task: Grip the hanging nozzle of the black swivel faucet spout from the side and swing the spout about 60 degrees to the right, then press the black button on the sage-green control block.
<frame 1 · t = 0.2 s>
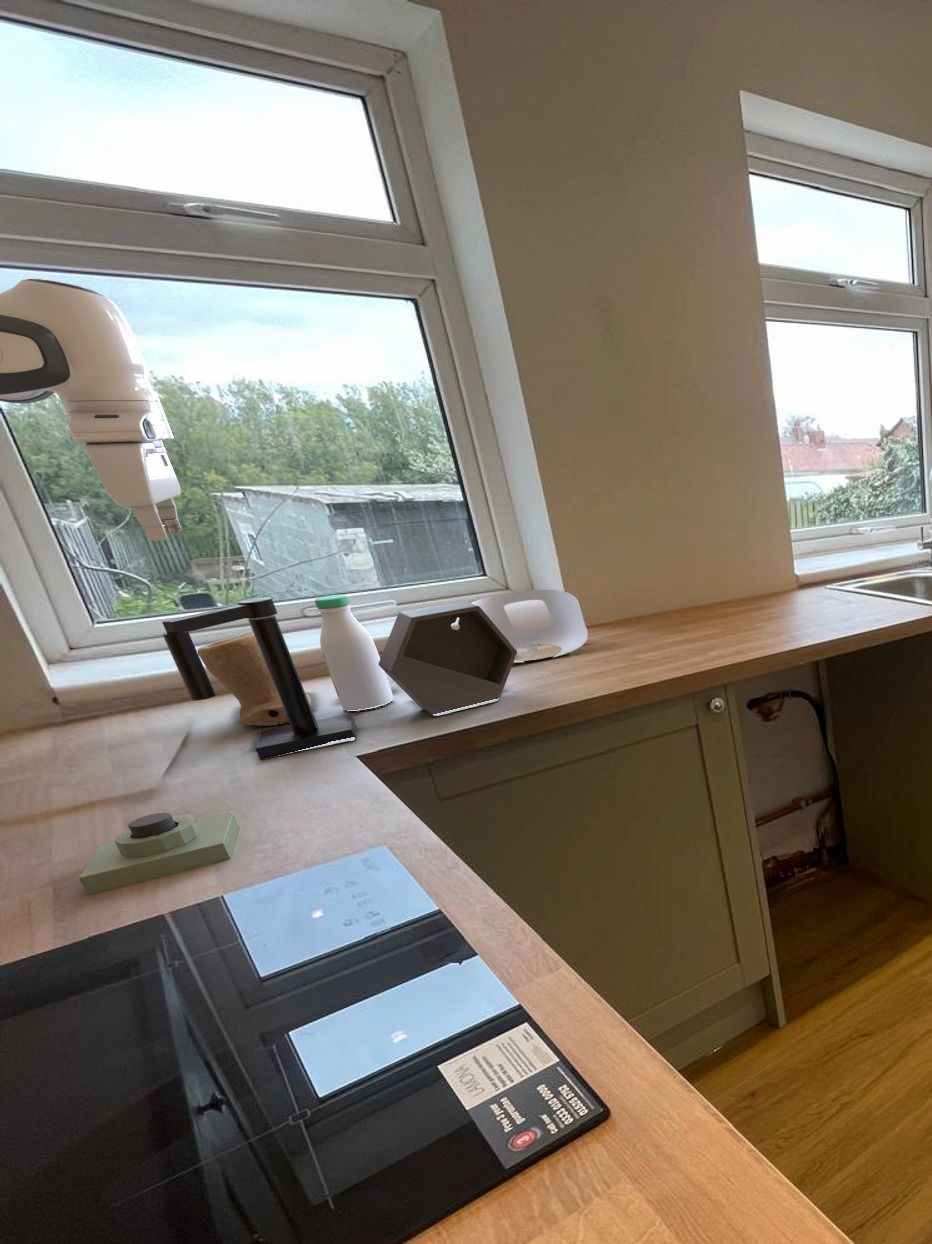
hand: (166, 536, 109), 34 cm above the worktop, tool pointing down, fingers open, 8 cm apart
control block: (169, 859, 96), on the worktop
button: (152, 826, 94), point 4 cm above the worktop, slide at 0.1 cm
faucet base: (310, 741, 132), on the worktop
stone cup: (273, 719, 144), on the worktop
milk bottle: (369, 706, 148), on the worktop
planter: (464, 705, 147), on the worktop
spout: (232, 646, 120), point 17 cm above the worktop, hinge at 0.0°
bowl: (534, 653, 179), on the worktop
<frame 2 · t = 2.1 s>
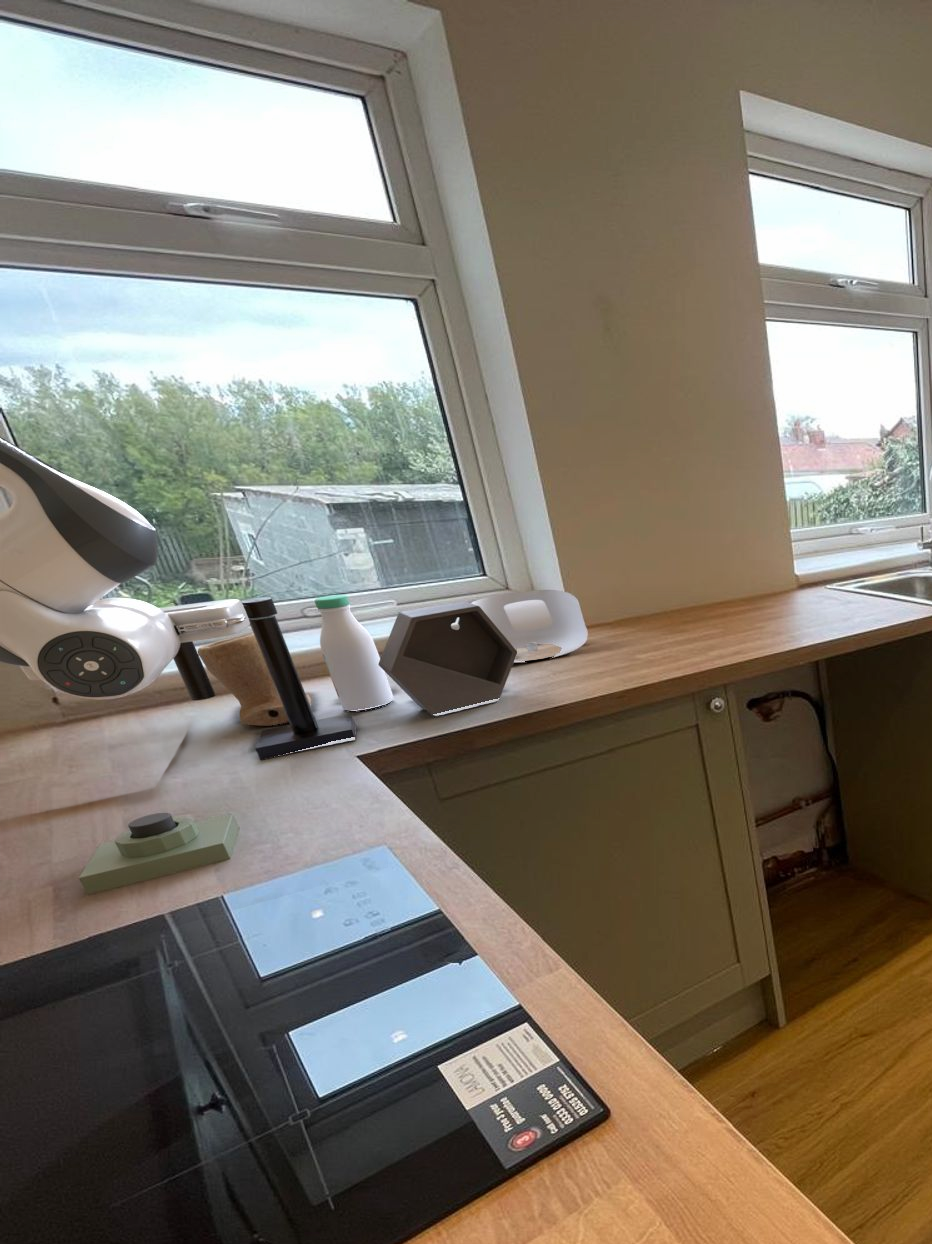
hand: (146, 619, 102), 25 cm above the worktop, tool horizontal, fingers open, 8 cm apart
nothing on the worktop moved.
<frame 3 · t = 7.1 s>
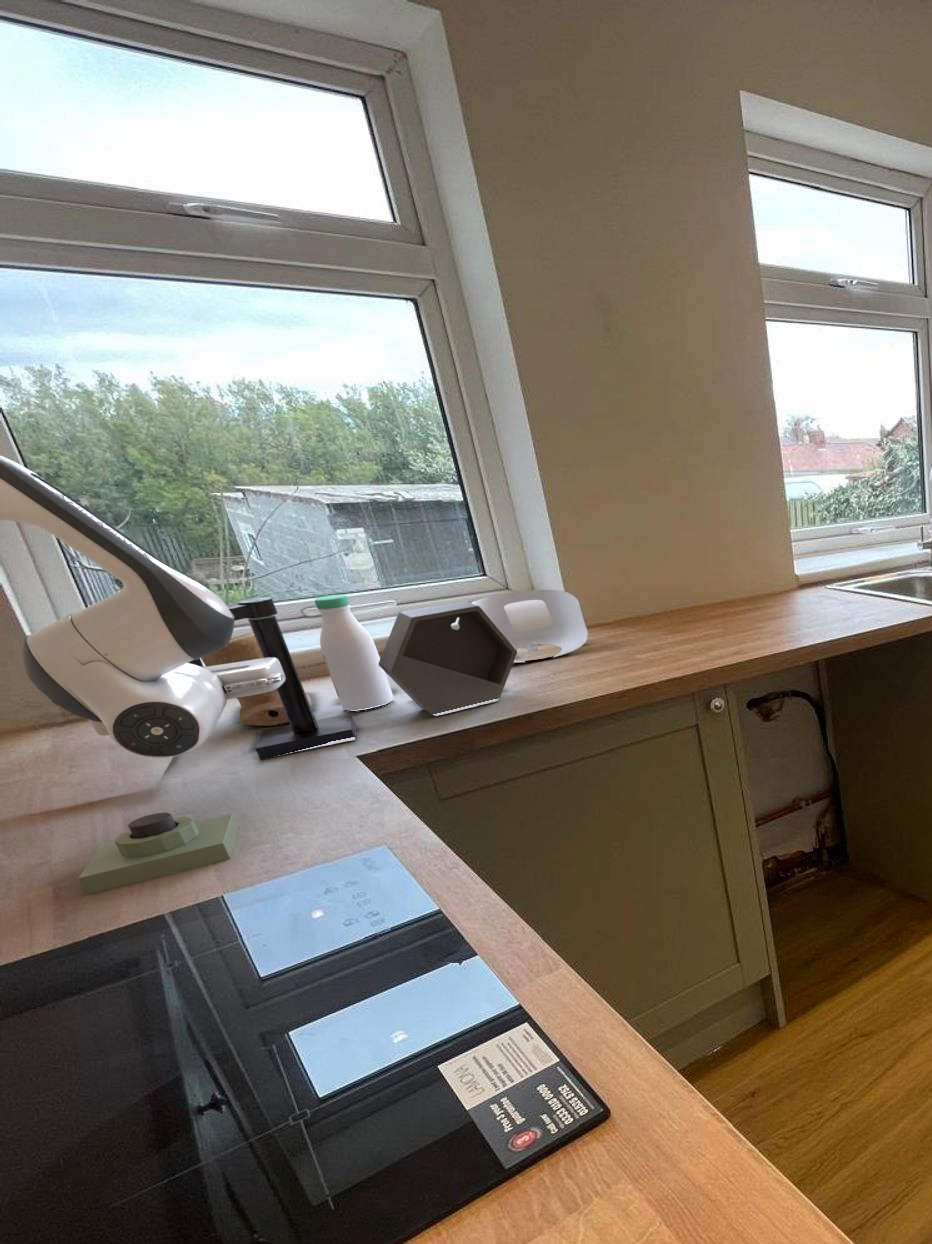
hand: (194, 674, 116), 15 cm above the worktop, tool horizontal, fingers closed on spout, 2 cm apart
spout: (232, 646, 120), point 17 cm above the worktop, hinge at 0.0°, touching gripper
everything else where it was.
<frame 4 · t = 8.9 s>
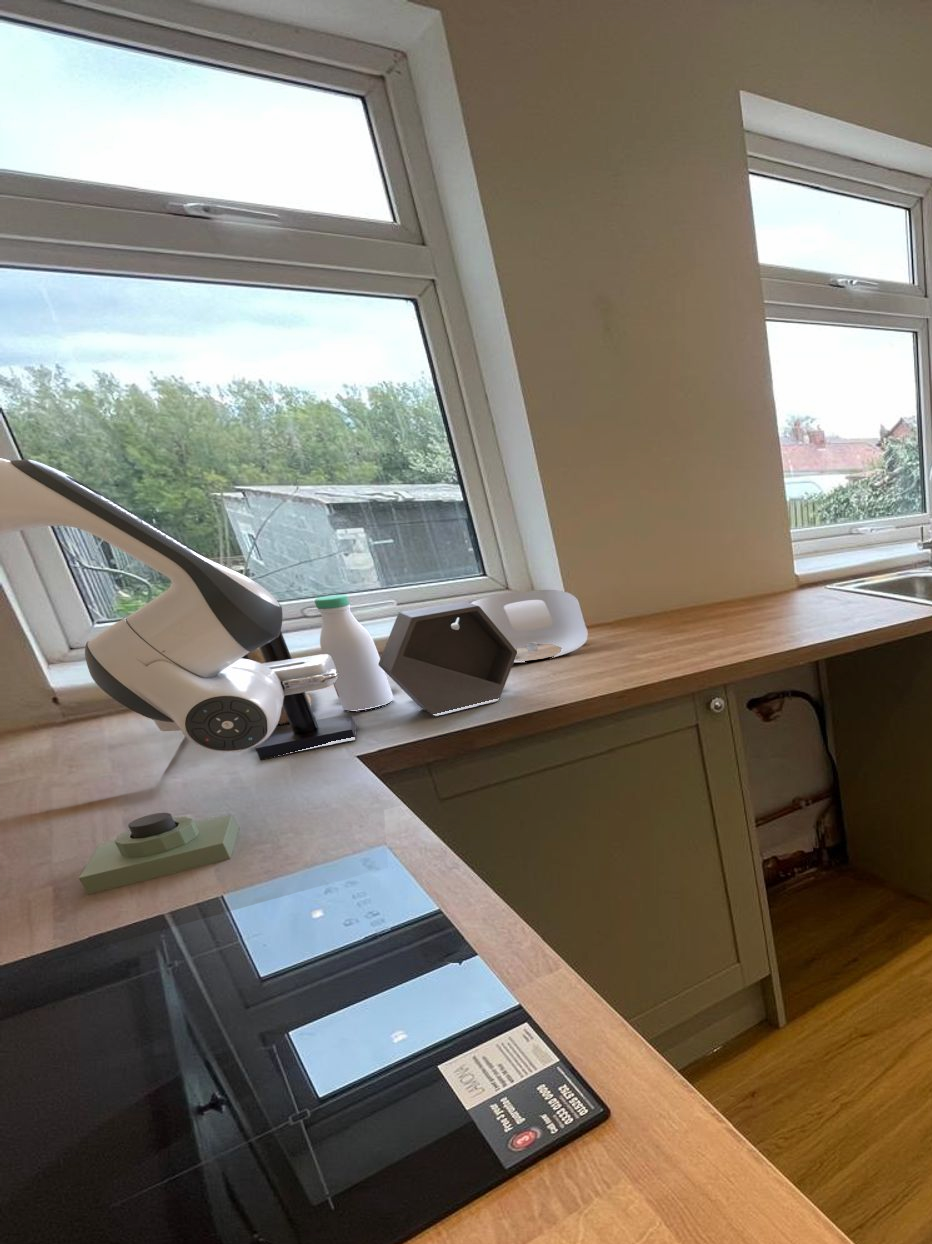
hand: (247, 671, 116), 15 cm above the worktop, tool horizontal, fingers open, 4 cm apart
spout: (254, 645, 120), point 17 cm above the worktop, hinge at 30.6°, touching gripper
everything else where it was.
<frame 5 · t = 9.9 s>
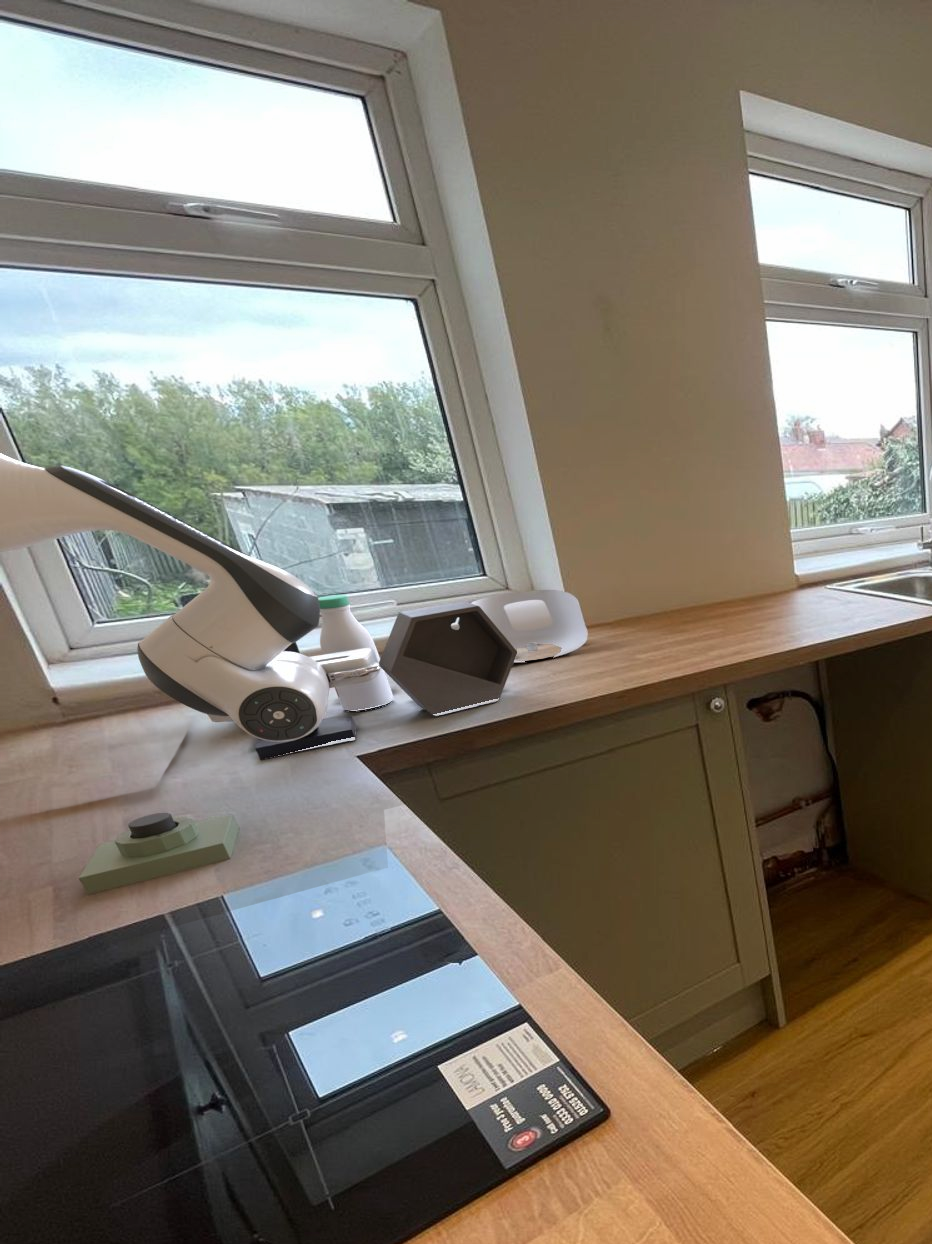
hand: (292, 665, 119), 15 cm above the worktop, tool horizontal, fingers closed on spout, 3 cm apart
spout: (277, 642, 122), point 17 cm above the worktop, hinge at 57.8°, touching gripper
everything else where it was.
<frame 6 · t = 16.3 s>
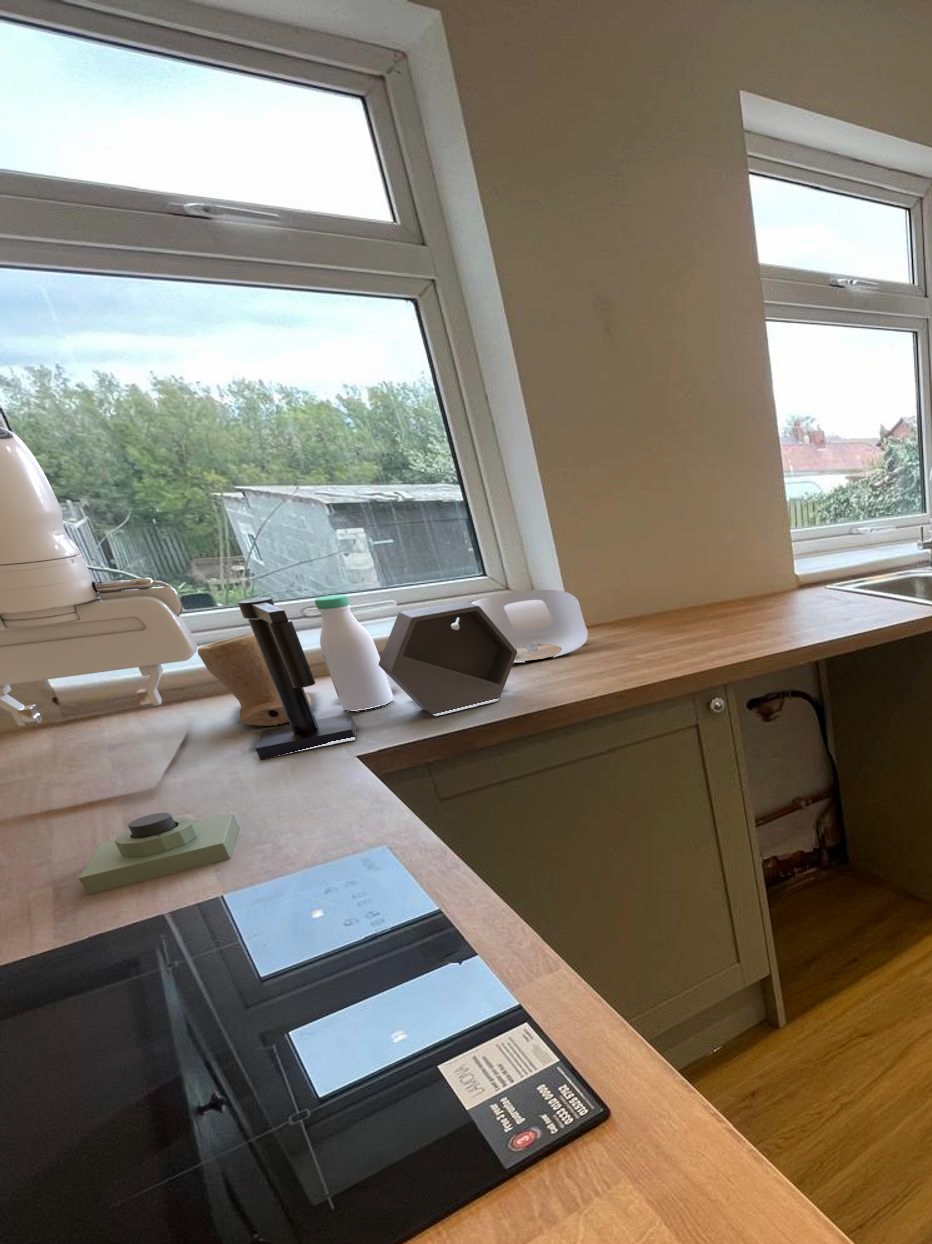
hand: (93, 714, 89), 18 cm above the worktop, tool pointing down, fingers open, 8 cm apart
spout: (278, 641, 122), point 17 cm above the worktop, hinge at 59.9°
everything else where it was.
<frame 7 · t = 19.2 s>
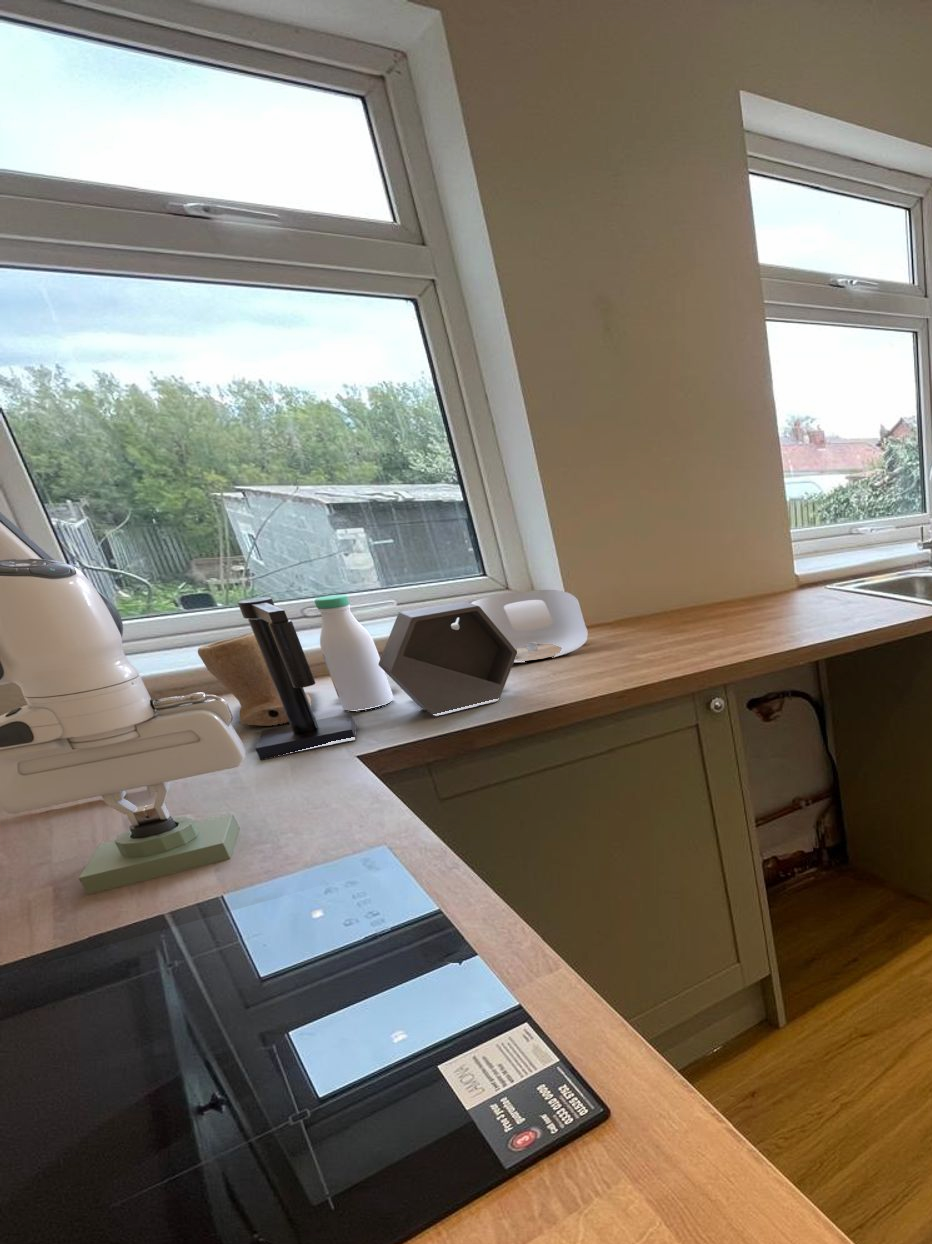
hand: (152, 821, 94), 5 cm above the worktop, tool pointing down, fingers closed, pressing on button
button: (153, 828, 94), point 4 cm above the worktop, slide at -0.2 cm, touching gripper
everything else where it was.
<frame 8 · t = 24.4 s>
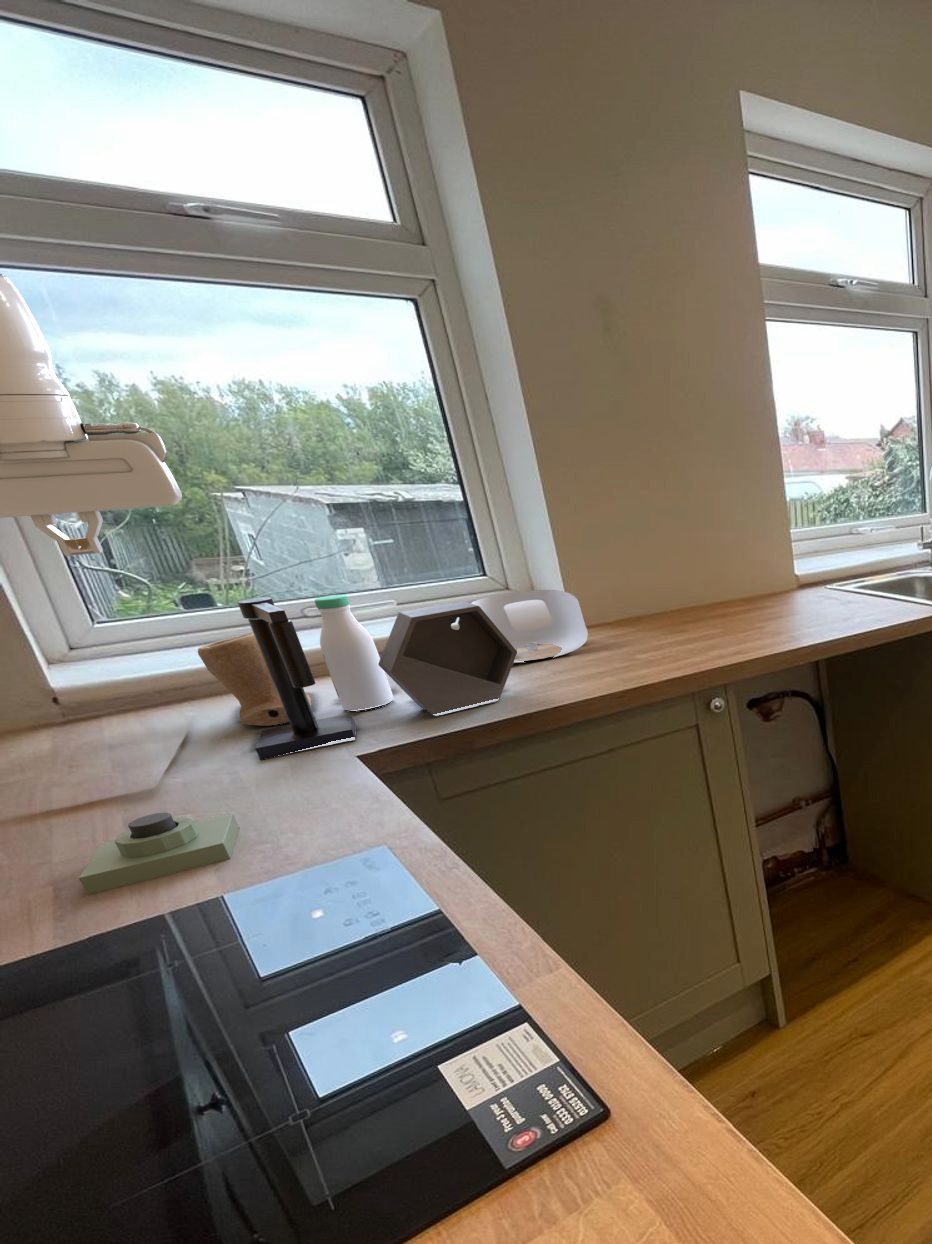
hand: (84, 554, 94), 34 cm above the worktop, tool pointing down, fingers closed
button: (152, 826, 94), point 4 cm above the worktop, slide at 0.1 cm
everything else where it was.
at the end: spout at +60° (first picture: +0°); button pushed in 1.0 cm at the most during the clip, back to where it started at the end; button slide at 0.1 cm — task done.
